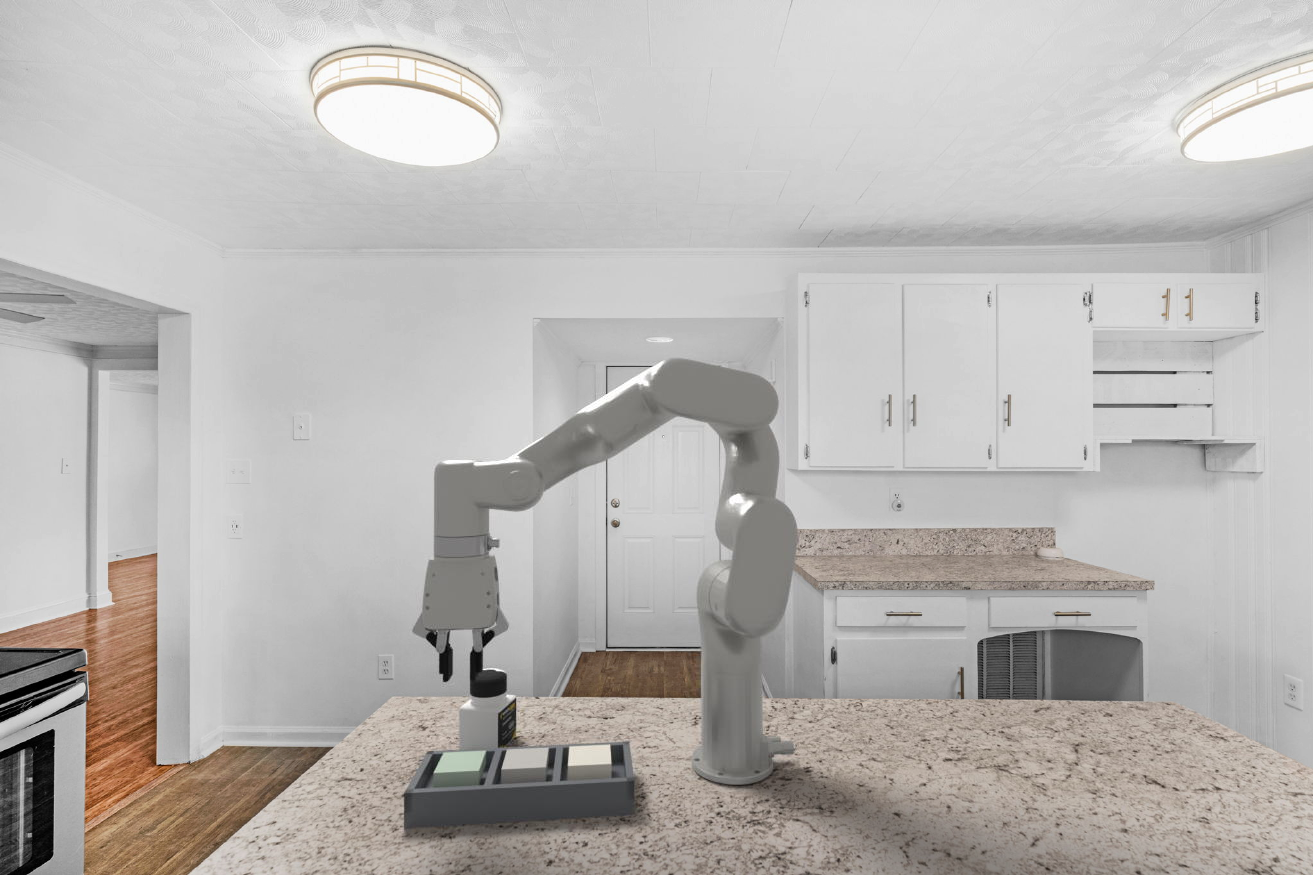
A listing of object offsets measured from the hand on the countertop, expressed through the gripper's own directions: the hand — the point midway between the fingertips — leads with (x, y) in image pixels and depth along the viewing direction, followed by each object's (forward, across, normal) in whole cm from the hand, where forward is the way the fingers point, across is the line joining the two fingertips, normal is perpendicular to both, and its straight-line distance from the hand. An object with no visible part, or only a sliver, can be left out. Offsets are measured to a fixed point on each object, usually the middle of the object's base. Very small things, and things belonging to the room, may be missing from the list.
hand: (461, 677), depth 91 cm
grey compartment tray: (+17, -9, 0) cm, 19 cm away
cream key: (+14, -18, 0) cm, 23 cm away
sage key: (+14, 0, 0) cm, 14 cm away
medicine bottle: (+17, -1, -18) cm, 25 cm away
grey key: (+14, -9, 0) cm, 16 cm away
